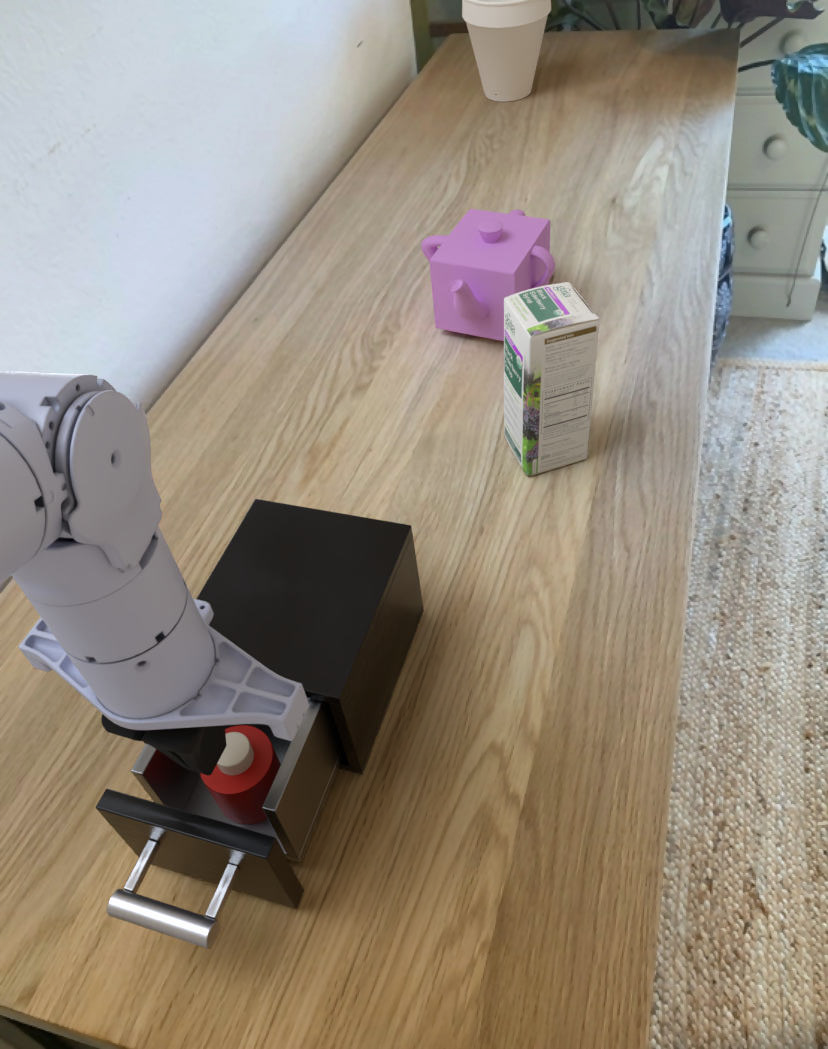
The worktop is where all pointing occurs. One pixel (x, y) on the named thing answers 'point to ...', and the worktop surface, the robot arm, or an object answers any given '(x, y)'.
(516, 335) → the syrup box
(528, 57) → the cup
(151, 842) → the drawer
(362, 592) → the cabinet
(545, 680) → the worktop surface
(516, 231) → the teapot
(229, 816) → the bottle
